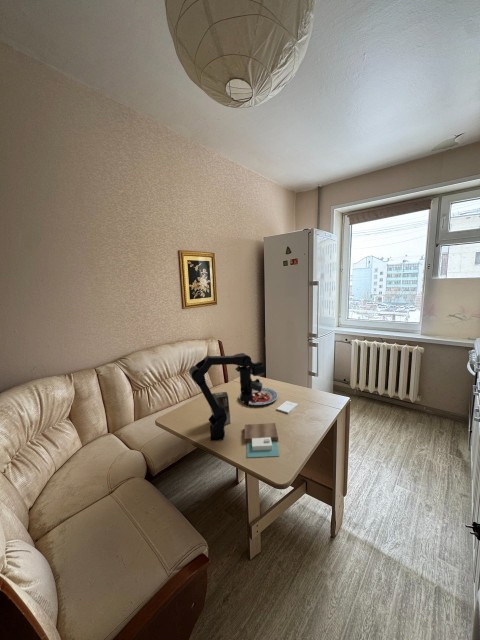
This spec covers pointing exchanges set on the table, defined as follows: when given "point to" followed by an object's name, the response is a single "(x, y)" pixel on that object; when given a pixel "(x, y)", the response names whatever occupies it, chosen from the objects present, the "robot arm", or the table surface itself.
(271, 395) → the ceramic plate
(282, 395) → the table surface
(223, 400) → the coffee box
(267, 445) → the white panel with tab
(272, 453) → the mat
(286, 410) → the external hard drive
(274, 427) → the brown flat block
